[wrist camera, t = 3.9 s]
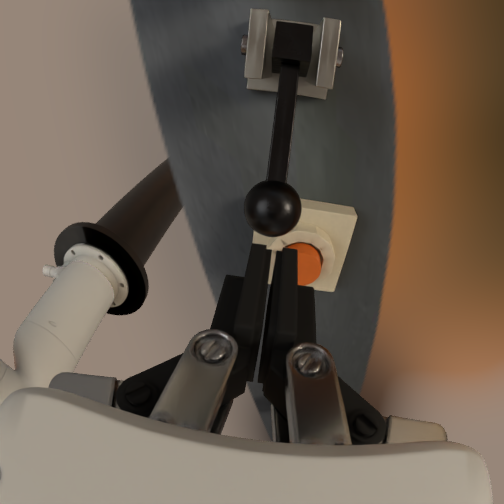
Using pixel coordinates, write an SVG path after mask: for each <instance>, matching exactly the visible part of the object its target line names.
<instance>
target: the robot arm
mask: <svg viewBox="0 0 504 504" xmlns="http://www.w3.org/2000/svg"><path fill="white" fill-rule="evenodd" d="M266 247H267V245H263V244H256V243H252V246H251V251H250V255H249V260H248V264H247V269H246V273H245V277H239V276H232V275H226V277H225V280H224V284H223V287H222V290H221V294H220V297H219V301H218V304H217V307H216V311H215V315H214V318H213V321H212V325H211V328H210V329H208V330H204V331H201V332H199V333H198V334H196V335H194V337H193V338H192V339H191V340H190V342H189V344H188V346H187V348H186V349H185V351H184V353H182V354H181V355H178V356H176V357H174V358H172V359H170V360H168V361H165V362H164V363H161V364H159V365H157V366H154V367H152V368H150V369H148V370H146V371H143V372H141V373H139V374H136V375H134V376H132V377H130V378H128V379H126V380H125V381H120V380H117V379H116V378H114V377H104V376H94V375H86V374H78V373H73V372H74V369H75V368H76V366H77V364H78V362H79V360H80V358H81V356H82V355H83V353H84V351H85V349H86V347H87V345H88V344H89V342H90V340H91V338H92V336H93V335H94V333H95V331H96V329H97V328H98V326H99V324H100V323H101V321H102V319H103V317H104V316H105V314H106V312H107V311H108V309H109V307H116V306H119V305H121V304H122V303H123V302H124V301H125V299H126V298H127V296H128V293H129V283H128V279H127V277H126V274H125V272H124V271H123V269H122V267H121V266H120V265H119V263H118V262H117V261H116V260H115V259H114V258H113V257H112V256H111V255H110V254H108V253H107V252H106V251H104V250H103V249H101V248H99V247H97V246H94V245H91V244H88V243H79V244H75V245H73V246H72V247H71V248H70V249H69V250H68V251H67V252H66V254H65V256H64V264H63V265H62V266H58V267H57V268H56V267H54V266H51V265H45V266H44V267H43V274H44V275H45V276H49V277H54V278H55V279H54V280H53V283H52V285H51V286H50V287H49V288H48V290H47V291H46V292H45V294H44V295H43V296H42V297H41V299H40V300H39V301H38V302H37V304H36V305H35V306H34V308H33V309H32V310H31V312H30V313H29V315H28V316H27V317H26V319H25V320H24V321H23V323H22V324H21V326H20V327H19V329H18V330H17V332H16V335H15V338H14V345H13V350H14V351H13V353H14V363H15V370H13V369H12V368H11V367H9V366H8V365H6V364H5V363H4V362H3V361H2V360H1V359H0V504H493V496H492V488H491V481H490V477H489V473H488V469H487V466H486V463H485V461H484V459H483V457H482V456H481V454H480V453H479V452H477V451H476V450H475V449H473V448H471V447H469V446H466V445H463V444H460V443H456V442H450V441H447V435H446V432H445V430H444V428H443V427H442V426H441V425H439V424H437V423H433V422H426V421H420V420H413V419H408V418H402V417H397V416H392V415H390V416H389V417H384V416H382V415H381V414H380V413H379V412H378V411H377V410H376V409H375V408H374V407H373V406H371V405H370V404H369V403H368V402H367V401H366V400H364V399H363V398H362V397H361V396H360V395H359V394H358V393H356V392H355V391H354V390H353V389H352V388H351V387H350V386H348V385H347V384H346V383H345V382H344V381H343V380H342V379H341V378H339V377H338V376H337V372H336V368H335V363H334V360H333V357H332V355H331V354H330V352H329V351H328V350H327V349H326V348H324V347H323V346H321V345H318V344H316V321H315V299H314V288H313V287H310V286H302V285H298V250H297V249H291V248H284V247H283V249H282V251H278V250H277V251H276V257H275V263H274V269H273V275H272V281H271V287H270V293H269V298H268V304H267V311H266V320H265V328H264V336H263V344H262V352H261V359H260V367H259V375H258V383H263V390H262V391H263V392H264V396H265V397H266V398H267V399H268V400H269V401H270V403H271V418H272V432H273V442H269V441H260V440H252V439H244V438H237V437H231V436H225V435H221V432H222V430H223V427H224V424H225V422H226V419H227V417H228V414H229V411H230V409H231V406H232V403H233V399H234V398H236V397H238V396H239V395H241V394H243V393H244V392H245V387H246V381H250V382H253V377H254V372H255V367H256V361H257V356H258V350H259V345H260V339H261V333H262V327H263V319H264V312H265V304H266V296H267V288H268V280H269V271H270V263H271V254H272V250H271V249H266Z"/></svg>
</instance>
